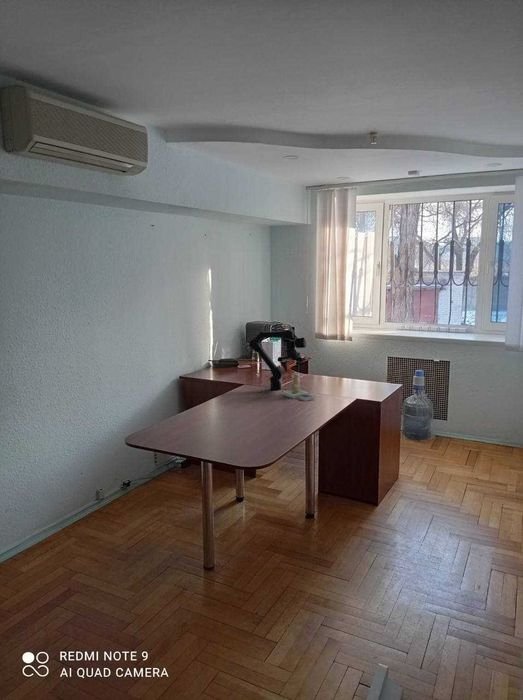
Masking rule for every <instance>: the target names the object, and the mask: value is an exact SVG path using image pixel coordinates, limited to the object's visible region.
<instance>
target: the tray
mask: <svg viewBox="0 0 523 700" xmlns="http://www.w3.org/2000/svg"><path fill="white" fill-rule="evenodd" d="M305 394H308V395H309V392H308V391H304V390H301V389H299V394H292V389H291V390H283V391H282V395H283V396H285V397H287V398H290V399H297V395H305Z"/></svg>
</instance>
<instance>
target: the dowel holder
mask: <svg viewBox="0 0 523 700" xmlns="http://www.w3.org/2000/svg"><path fill="white" fill-rule="evenodd" d="M297 399H298V400H300V401H304V402H306V401H307V402H308V401H314V400H315V396H314V395H312V394H309V393H308V394H305V395H297V398H296V400H297Z"/></svg>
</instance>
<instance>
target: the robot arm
mask: <svg viewBox="0 0 523 700" xmlns="http://www.w3.org/2000/svg"><path fill="white" fill-rule="evenodd" d="M265 338H282V339H283V340H282V343H285V349H286V350H285V351H284V352H285V353H286V356H285V355H284V356H278V357H277V362H279V363H280V365H279V366H277V365H276V364H275V362H274V361H273V360H272V358H271V356H269V354H268V353H267V352H266V351H265V349H264V347H263V344H262V342H263V340H264V339H265ZM248 345H249V347H250V348H251V349H252V350H253V351H255V352H256V353H257V354H258V355H259V356H260V357H261V359H262V360H263V361H264V363H265V364H266V366H267V367H268V368H269V370H270V372H271V375H272V376H271V377H270V378H269V381H270V382H269V383H270V388H269V391H277V392H278V391H280V390H282V383H281V380H282V378H283V377H284V375H285V372H286V373H287V372H288V364H287V363H288V361H296V362H295V365H296V366H295V367H296V372H297V373H299V372H300V368H301V366H302V363H304V362H305V361H306V356H301V352H298V351H297V349H305V348H306V347H307V341H306V339H305V337H298V336H297V335H296V334H295V331H294V330H293V329H286V330H279V331H263V330H262V331H261V332H259V334H257V336H255V337H254V339H251V340H249V344H248ZM281 366H282V367H281Z"/></svg>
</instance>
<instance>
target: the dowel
mask: <svg viewBox="0 0 523 700" xmlns="http://www.w3.org/2000/svg"><path fill="white" fill-rule="evenodd" d="M300 382H301V381H300V373H291V390H292V394H299V390H300Z"/></svg>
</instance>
